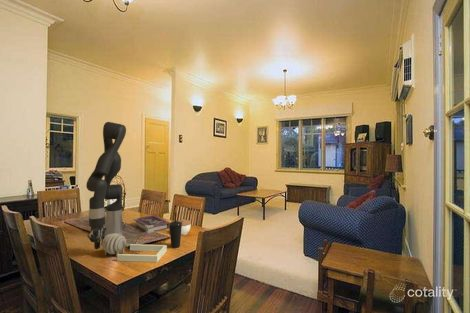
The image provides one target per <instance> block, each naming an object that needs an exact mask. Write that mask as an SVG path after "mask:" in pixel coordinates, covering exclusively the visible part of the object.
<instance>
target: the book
mask: <svg viewBox="0 0 470 313" xmlns="http://www.w3.org/2000/svg"><path fill="white" fill-rule="evenodd" d="M132 221H134V222H135V223H133V226H135V227H137V228H138V229H140V230H142V231H143V232H145V233H147V234H151V233H155V232H159V231H164V230H168V229H169V230H170V228H169V223H170V221H168V220H165V219H164V218H161V217H159V216H156V215H155V214H153V215H147V216H142V217H134V218H133V220H132Z"/></svg>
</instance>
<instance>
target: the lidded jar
mask: <svg viewBox="0 0 470 313" xmlns="http://www.w3.org/2000/svg"><path fill="white" fill-rule="evenodd" d="M177 221H180V222H182V228H181V236H185V235H187V234H188V233H189V232H190V230H191V223H192V221H191V220H189V219H183V218H182V219H178V220H177Z"/></svg>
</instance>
